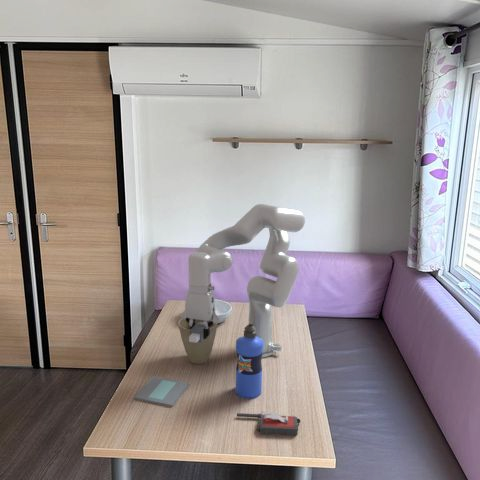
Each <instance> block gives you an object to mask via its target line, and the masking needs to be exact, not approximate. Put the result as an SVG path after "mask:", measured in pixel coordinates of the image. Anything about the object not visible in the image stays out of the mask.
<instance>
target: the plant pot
mask: <svg viewBox="0 0 480 480" xmlns="http://www.w3.org/2000/svg"><path fill="white" fill-rule="evenodd" d="M211 320H213V318H212V319H211ZM211 320H210V321H211ZM198 322H204V321H203V320H197V319H196V320H195V323H198ZM217 328H218V323H217V322H216V323H214V324H213V325H211V326H210V335H209V336H208V337H207V338H206V339H204V340H203V342H202V343H201V342H197V343H195V342H189V336H190V335H191V333H190V326H189V323H188V322H187V321H186V320H185V319H184V318H183V317H181V318H180V319H179V320H178V329H179V333H180V337H181V342H182V344H183V348H184V351H185V354H186V357H187V358H188V361H189V362H190V363H192V364H194V365H195V364H196V365H200V364H204V363H207V361H209V359H210V356H211V352H212V350H213V346H214V343H215V338H216V334H217Z"/></svg>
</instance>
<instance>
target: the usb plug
mask: <svg viewBox="0 0 480 480" xmlns="http://www.w3.org/2000/svg"><path fill="white" fill-rule="evenodd" d="M204 328H205V325H204V322H198V323H196V324H195V325H194V326H193V328H192V329H191V335H190V336H189V342H195V343H197V342H201V343H202V342H203V340H204Z"/></svg>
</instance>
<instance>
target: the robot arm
mask: <svg viewBox="0 0 480 480" xmlns="http://www.w3.org/2000/svg"><path fill="white" fill-rule="evenodd" d="M305 222H306V219H305V215H304V214H303V213H302V212H301V210H300V211H299V210H298V209H291V208H288V207H287V208H286V207H282V206H275V205H271V204H270V205H269V204H265V203H258V204H255V205H254V206H253V207H252V208H251V209H250V210H249V211H247V213H245V214H244V215H242V217H241V218H240V219H239V220H238V221H237V222H236V223H235V224H234V225H232V226H230V227H227V228H225V229H222V230H220V231H218V232H216V233H213V234H212V235H211V236H209V237H208V238H207V239H206V240H205V241H204V242H202V243H201V245H199V247H198V248H197V249H196V251H195V252H191V253H190V254H189V255H188V260H187V261H188V262H187V263H188V264H187V265H188V267H187V269H188V290H187V291H186V294H185V300H184V301H185V303H184V310H183V312H182V314H181V315H180V318H184V319H185V320H186V321H187V322H188V323H189V326H190V333H191V329H192V328H193V326H194V325H195V324H196V323H195V320H196V319H197V320H203V321H204V325H205V328H204V339H206V338H207V337H208V336H209V335H210V326H211V325H213V324H214V323H216V322H218V321H219V318H218V317H217V315H216V311H215V300H214V299H215V295H214V291H215V286H213V285H212V283H211V280H212V279H211V275H212V273H223V272H226V271H227V270H229V269H230V268H231V267H232V265H233V263H234V262H233V256H232V255H231V254H230V253H229V252H228V251H226V250H223V249H226V248H229V247H234V246H242V245H247V244H250V243H251V242H252V241H253V240H254V239H255V238H256V236H258V235H259V233H261V231H263V229H265V228H267V229H268V232H269V239H268V241H267V245H266V246H265V250H264V253H263V255H262V257H261V260H260V262H259V269H260V271H261V272H262V273H264V274H266V275H268V276H271V277H274V278H276V280H274V279H272V278H269V277H265V276H261V275H256V276H253V277H251V278H250V279H249V281H248V283H247V285H246V293H247V298H248V324H252V325H253V326H254V327H255V328H256V337H259V338H261V339H262V340H263V342H264V344H263V353H262V358H268V357H271V356H273V355H274V354H275V352H276V351H277V352H282V346H281V343H275V341H274V339H273V337H272V336H273V314H274V313H273V312H274V311H273V307H274V308H281V307H284V305H286V303H287V302H288V300H289V298H290V295H291V292H292V290H293V287H294V285H295V281H296V280H297V277H298V275H299V274H298V273H299V263H298V261H297V259H296V258H295V257H294V256H290V255H287V254H288V251H289V247H290V243H291V241H290V240H291V239H290V235H289V233H297V232H299V231H301V230H302V229H303V228H304V226H305ZM212 318H213V320H211V319H212ZM210 320H211V321H210Z"/></svg>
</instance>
